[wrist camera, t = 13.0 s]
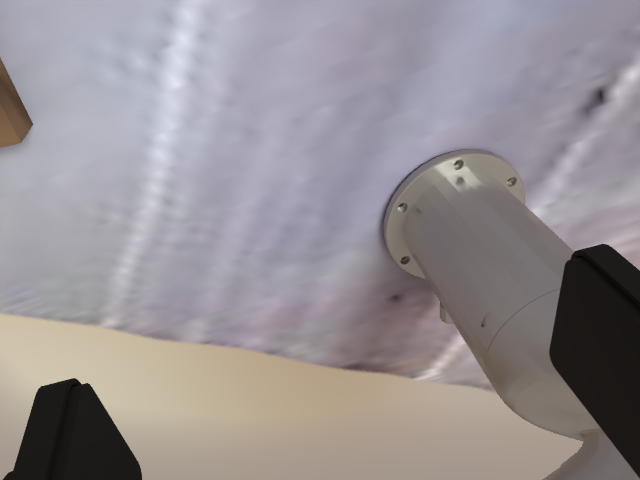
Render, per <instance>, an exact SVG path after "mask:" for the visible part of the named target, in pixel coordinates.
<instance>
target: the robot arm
mask: <svg viewBox="0 0 640 480" xmlns="http://www.w3.org/2000/svg"><path fill="white" fill-rule="evenodd" d="M383 234H384V239H385V244H386V246H387V249H388V251H389V253H390V255H391V256H392V258H393V259H394V261H395V263H396V264H397V265H398V266H399V267H400V268H402V269H403V270H404V271H406V272H407V273H409V274H411V275H413V276H416V277H419V278H422V279H427V281H428V282H429V284H430V286H431V287H432V289H433V290H434V292H435V294H436V295H437V297H438V298H439V300H440V318H441V320H442V321H443V322H445V323H448V324H455V326H456V328H457V329H458V331H459V332H460V334H461V336H462V337H463V339H464V340H465V342H466V344H467V345H468V347H469V349H470V350H471V352H472V353H473V355H474V357H475V358H476V360H477V361H478V363H479V365H480V366H481V368H482V370H483V371H484V373H485V374H486V376H487V378H488V379H489V381H490V382H491V384H492V386H493V387H494V389H495V390H496V392H497V394H498V395H499V396H500V398H501V399H502V400H503V401H504V403H505V404H506V405H507V406H508V407H509V408H510V409H511V410H512V411H513V412H515V413H516V414H517V415H519V416H520V417H521V418H523V419H524V420H526V421H528V422H530V423H532V424H533V425H535V426H537V427H540V428H542V429H545V430H548V431H551V432H553V433H556V434H559V435H563V436H566V437H569V438H573V439H576V440H580V441H583V445H582V447H581V448H580V449H579V451H578V452H577V453H575V454H574V455H573V456H572V457H570V458H569V459H568V460H567V461H565V462H564V463H563V464H562V465H561V467H560V468H559V469H557V470H556V471H554V472H553V473H551V474H550V475H548V476H547V477H546V478H544V479H543V480H640V271H639V270H638V269H637V268H636V267H635V266H633V265H632V264H631V263H630V262H629V261H627V260H626V259H625V258H624V257H623V256H621V255H620V254H619V253H618V252H617V251H616V250H614V249H613V248H612V247H610V246H609V245H606V244H601V245H597V246H593V247H589V248H585V249H581V250H578V251H573V250H572V249H571V248H570V247H569V246H568V245H567V244H566V243H565V242H564V241H563V240H562V239H561V238H559V237H558V236H557V235H556V234H555V233H554V232H553V231H552V230H551V229H550V228H549V227H548V226H547V225H545V224H544V223H543V222H542V221H541V220H540V219H539V218H538V217H537V216H536V215H535V214H534V213H533V212H531V211H530V210H529V209H528V208H527V207H526V206H525V190H524V185H523V182H522V180H521V178H520V176H519V174H518V172H517V171H516V170H515V169H514V168H513V167H512V166H511V165H510V164H509V163H508V162H506V161H505V160H504V159H503V158H501V157H499V156H497V155H495V154H493V153H491V152H487V151H482V150H459V151H454V152H449V153H447V154H444V155H441V156H438V157H436V158H434V159H432V160H431V161H429V162H427V163H425V164H423V165H422V166H421V167H419V168H418V169H417V170H416V171H414V172H413V173H412V174H411V175H410V176H409V177H408V178H407V179H406V180H405V181H404V182H403V183H402V184H401V185H400V187H399V188H398V190H397V191H396V192H395V194H394V195H393V197H392V199H391V201H390V203H389V206H388V208H387V211H386V215H385V219H384V229H383ZM3 480H142V473H141V468H140V465H139V463H138V461H137V460H136V458H135V456H134V455H133V453H132V451H131V450H130V448H129V446H128V445H127V443H126V442H125V440H124V438H123V437H122V435H121V434H120V432H119V430H118V429H117V427H116V425H115V424H114V422H113V421H112V419H111V417H110V416H109V414H108V412H107V411H106V409H105V408H104V406H103V404H102V403H101V401H100V399H99V398H98V396H97V395H96V393H95V392H94V390H93V388H92V387H91V386H90V384H88V383H86V384H82V385H81V383H80V382H79V381H78V380H77V379H75V378H74V379H69V380H65V381H61V382H57V383H54V384H49V385H45V386H41V387H40V388H39V389H38V391H37V393H36V396H35V399H34V403H33V406H32V409H31V413H30V416H29V419H28V423H27V427H26V430H25V433H24V436H23V440H22V443H21V446H20V450H19V453H18V457H17V460H16V463H15V467H14V470H13V471H12V472H9V473H8V474H7V475H6V476H5V478H4V479H3Z"/></svg>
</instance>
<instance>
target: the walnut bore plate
mask: <svg viewBox="0 0 640 480" xmlns="http://www.w3.org/2000/svg"><path fill="white" fill-rule="evenodd" d="M32 125H33V123H32V121H31V119H30V117H29V115H28V113H27V111H26V109H25V107H24V105H23V103H22V101H21V99H20V97H19V95H18V93H17V91H16V89H15V87H14V85H13V83H12V81H11V79H10V77H9V75H8V73H7V71H6V69H5V66H4V64H3V62H2V60H1V58H0V147H3V146H8V145H13V144H18V143H21V142H22V141H23V139H24V138H25V136H26V135H27V133H28V131H29V130H30V128H31V127H32Z"/></svg>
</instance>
